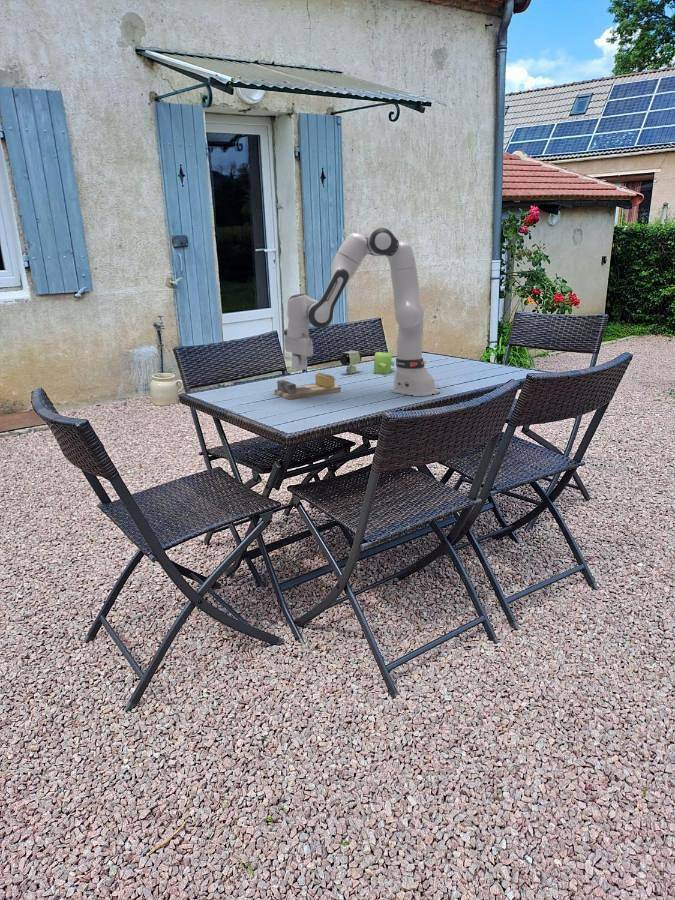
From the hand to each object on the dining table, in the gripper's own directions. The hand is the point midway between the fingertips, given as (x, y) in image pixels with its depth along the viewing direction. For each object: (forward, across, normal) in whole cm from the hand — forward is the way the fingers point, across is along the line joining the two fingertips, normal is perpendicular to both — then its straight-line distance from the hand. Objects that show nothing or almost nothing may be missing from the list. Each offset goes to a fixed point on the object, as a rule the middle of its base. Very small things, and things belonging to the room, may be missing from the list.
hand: (299, 364), depth 293 cm
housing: (+2, 0, 0) cm, 2 cm away
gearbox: (+13, +18, -58) cm, 63 cm away
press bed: (+13, 0, -4) cm, 14 cm away
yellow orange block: (+11, 0, -13) cm, 17 cm away
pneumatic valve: (+13, +26, -44) cm, 52 cm away
